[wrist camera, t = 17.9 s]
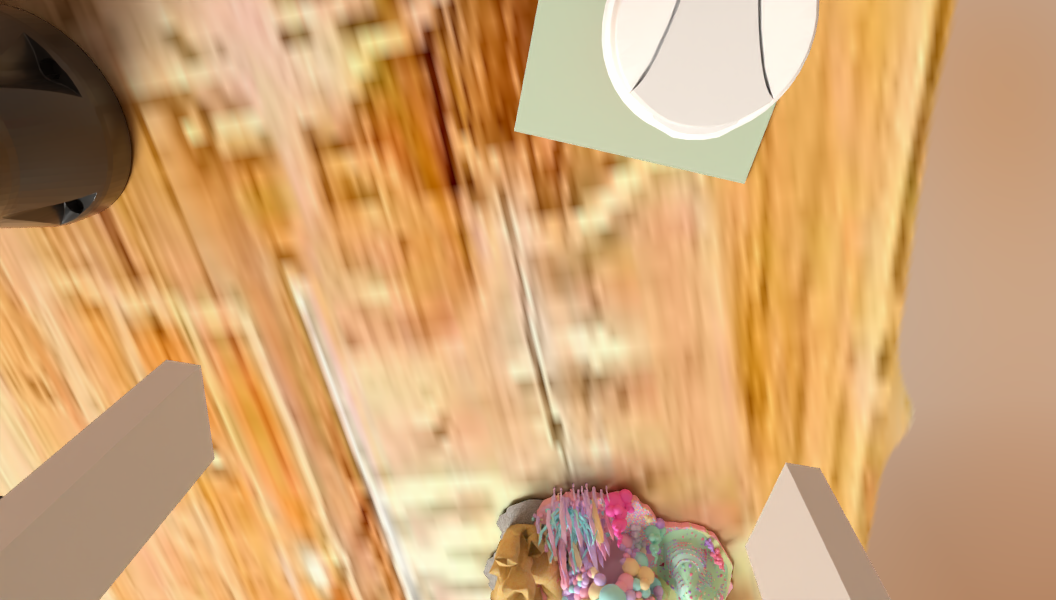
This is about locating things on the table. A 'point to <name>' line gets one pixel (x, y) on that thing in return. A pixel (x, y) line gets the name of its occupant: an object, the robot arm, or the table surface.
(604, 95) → the pad green
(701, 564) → the pastel sphere sculpture
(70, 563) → the robot arm
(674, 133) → the coffee cup
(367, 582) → the table surface
